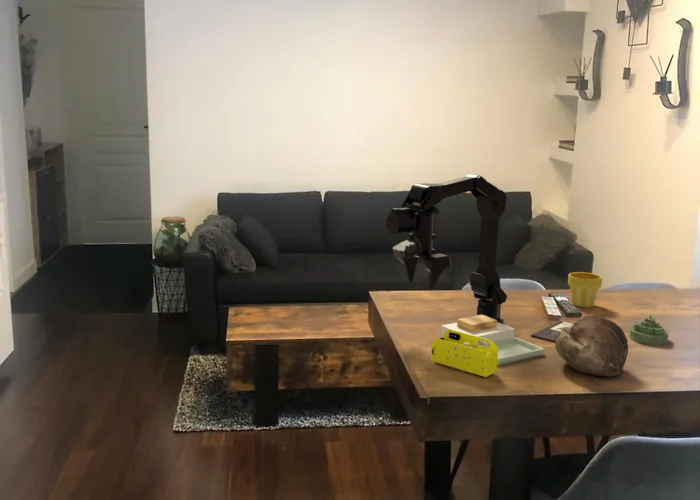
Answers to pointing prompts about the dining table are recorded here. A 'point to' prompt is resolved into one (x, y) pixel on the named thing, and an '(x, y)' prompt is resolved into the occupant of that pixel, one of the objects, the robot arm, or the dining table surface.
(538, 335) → the chocolate bar
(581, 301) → the plant pot
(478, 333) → the block
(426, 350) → the dining table surface
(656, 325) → the decorative artifact
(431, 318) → the dining table surface
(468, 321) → the tan curved block
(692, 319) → the dining table surface
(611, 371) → the seashell
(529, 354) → the tray
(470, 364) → the yellow toy chassis
